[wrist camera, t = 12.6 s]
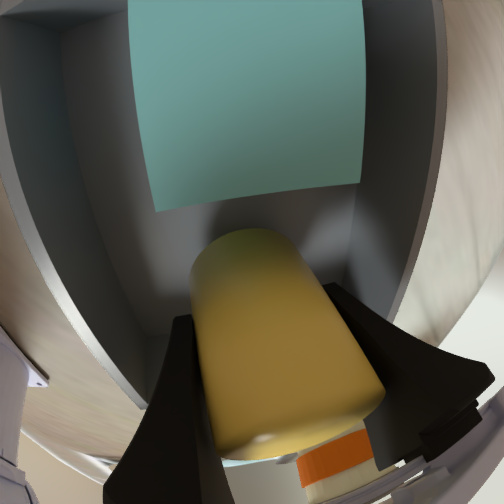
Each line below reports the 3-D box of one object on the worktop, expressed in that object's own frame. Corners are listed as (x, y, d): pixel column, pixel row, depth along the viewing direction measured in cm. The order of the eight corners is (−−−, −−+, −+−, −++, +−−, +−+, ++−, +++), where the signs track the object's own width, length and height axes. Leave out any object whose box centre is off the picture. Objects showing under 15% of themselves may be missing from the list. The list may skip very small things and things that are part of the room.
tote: (342, 293, 18) (379, 350, 14) (140, 337, 15) (140, 409, 11) (360, 4, 8) (440, -10, 4) (52, 29, 6) (-15, 10, 2)
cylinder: (206, 330, 13) (236, 467, 8) (173, 248, 10) (187, 433, 5) (303, 301, 14) (366, 423, 8) (298, 214, 11) (407, 358, 5)
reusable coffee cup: (345, 420, 38) (378, 491, 26) (273, 441, 35) (302, 522, 23) (376, 383, 31) (424, 472, 19) (288, 411, 28) (331, 521, 16)
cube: (165, 157, 10) (156, 212, 6) (151, 33, 7) (127, -10, 3) (290, 140, 11) (359, 182, 7) (286, 25, 8) (361, -5, 4)
